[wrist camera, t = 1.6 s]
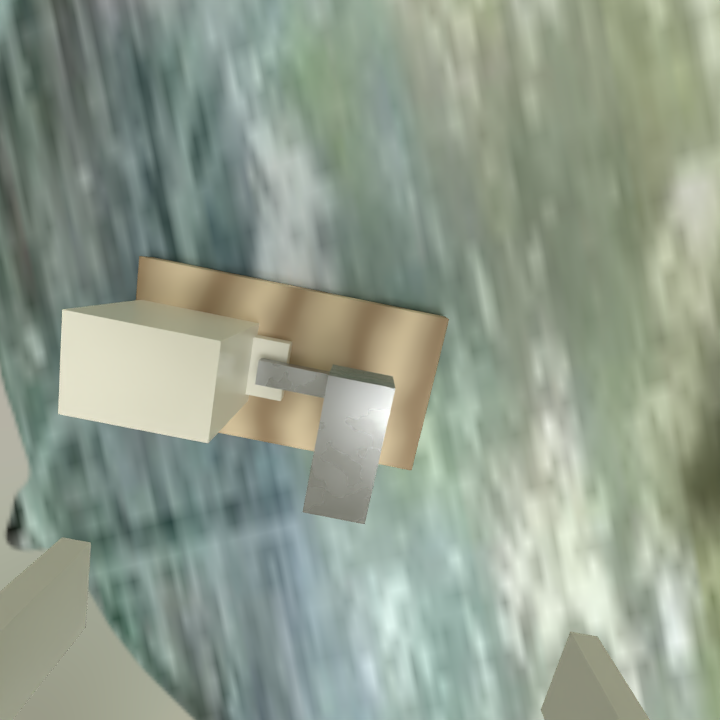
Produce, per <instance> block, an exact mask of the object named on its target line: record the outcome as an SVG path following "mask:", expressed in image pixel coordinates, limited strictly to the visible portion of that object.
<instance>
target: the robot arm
mask: <svg viewBox="0 0 720 720" xmlns="http://www.w3.org/2000/svg"><path fill="white" fill-rule="evenodd" d="M90 550H91V543H89V542H84V541H78V540H73V539H68V538H61V539H60V540H59V541H57V542H56V543H55V544H54V545H53V546H52V547H51V548H49V549H48V550H47V551H46V552H45V553H44V554H43V555H41V556H40V557H39V558H38V559H37V560H36V561H35V562H33V564H31V565H30V566H29V567H28V568H26V569H25V570H24V571H23V572H22V573H21V574H20V575H19V576H17V577H16V578H15V579H14V580H13V581H12V582H10V583H9V584H8V585H7V586H6V587H5V588H4V589H2V590H1V591H0V720H13V719H14V717H15V716H16V715H17V714H18V712H19V711H20V710H21V709H22V707H23V706H24V705H25V704H26V702H27V701H28V700H29V699H30V697H31V696H32V695H33V694H34V692H35V691H36V690H37V688H38V687H39V686H40V685H41V683H42V682H43V681H44V679H45V678H46V677H47V676H48V674H49V673H50V672H51V671H52V669H53V668H54V667H55V666H56V664H57V663H58V662H59V661H60V659H61V658H62V657H63V656H64V654H65V653H66V652H67V651H68V649H69V648H70V647H71V646H72V644H73V643H74V642H75V640H76V639H77V638H78V637H79V635H80V634H81V633H82V632H83V630H84V629H85V628H86V614H87V598H88V582H89V566H90ZM541 711H542V714H543V716H544V719H545V720H649V718H648V716H647V715H646V713H645V712H644V710H643V708H642V707H641V705H640V704H639V702H638V700H637V699H636V697H635V696H634V694H633V692H632V691H631V689H630V688H629V686H628V684H627V683H626V681H625V680H624V678H623V676H622V675H621V673H620V672H619V670H618V669H617V667H616V665H615V664H614V662H613V661H612V659H611V657H610V656H609V654H608V653H607V651H606V649H605V648H604V646H603V645H602V643H601V641H600V640H599V638H598V637H597V636H591V635H586V634H580V633H575V632H570V634H569V637H568V639H567V642H566V645H565V647H564V650H563V652H562V655H561V658H560V660H559V663H558V666H557V668H556V671H555V674H554V676H553V679H552V682H551V684H550V687H549V690H548V692H547V695H546V697H545V700H544V703H543V705H542V708H541Z"/></svg>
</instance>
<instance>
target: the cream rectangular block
mask: <svg viewBox="0 0 720 720" xmlns="http://www.w3.org/2000/svg"><path fill="white" fill-rule="evenodd" d="M258 330H259V323H256V322H251V321H246V320H241V319H236V318H231V317H226V316H221V315H216V314H211V313H206V312H201V311H196V310H191V309H186V308H181V307H176V306H171V305H166V304H161V303H156V302H151V301H146V300H135V301H127V302H119V303H111V304H103V305H94V306H86V307H78V308H70V309H62V332H61V357H60V383H59V408H58V414H61V415H66V416H71V417H76V418H81V419H86V420H92V421H97V422H102V423H107V424H112V425H117V426H122V427H127V428H133V429H138V430H143V431H148V432H153V433H158V434H163V435H168V436H174V437H179V438H184V439H189V440H194V441H199V442H204V443H209V442H210V441H211V440H212V439H213V438H214V437H215V435H216V434H217V433H218V432H219V431H220V430H221V429H222V428H223V427H224V426H225V425H226V424H227V423H228V422H229V421H230V420H231V419H232V417H233V416H234V415H235V414H236V413H237V412H238V411H239V410H240V409H241V408H242V407H243V406H244V405H245V404H246V403H247V402H248V398H249V395H252V396H257V397H262V398H267V399H272V400H277V401H281V400H282V398H283V396H284V390H281V389H276V388H271V387H266V386H261V385H256V384H255V382H256V375H257V368H258V361H259V360H260V359H261V358H265V359H270V360H275V361H280V362H285V363H289V360H290V354H291V348H292V342H291V341H286V340H281V339H276V338H271V337H266V336H261V335H258Z"/></svg>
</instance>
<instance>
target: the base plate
mask: <svg viewBox="0 0 720 720" xmlns="http://www.w3.org/2000/svg"><path fill="white" fill-rule="evenodd" d="M136 300H146V301H151V302H156V303H161V304H166V305H171V306H176V307H181V308H186V309H191V310H196V311H201V312H206V313H211V314H216V315H221V316H226V317H231V318H236V319H241V320H246V321H251V322H256V323H259V330H258V335H261V336H266V337H271V338H276V339H281V340H286V341H291V342H292V348H291V354H290V360H289V363H290V364H295V365H300V366H305V367H310V368H315V369H320V370H325V371H330V370H331V368H332V365H333V364H334V365H339V366H344V367H349V368H354V369H359V370H364V371H369V372H374V373H379V374H384V375H389V376H393V380H394V384H395V393H394V397H393V401H392V406H391V410H390V414H389V419H388V423H387V428H386V432H385V436H384V441H383V445H382V450H381V454H380V458H379V463H378V464H382V465H387V466H392V467H397V468H402V469H407V470H412V466H413V462H414V458H415V454H416V450H417V446H418V442H419V438H420V434H421V430H422V426H423V422H424V418H425V414H426V410H427V406H428V402H429V398H430V394H431V390H432V386H433V382H434V377H435V373H436V369H437V365H438V361H439V357H440V353H441V349H442V345H443V341H444V337H445V333H446V329H447V325H448V321H449V319H448V318H446V317H445V316H440V315H435V314H430V313H425V312H420V311H415V310H410V309H405V308H400V307H395V306H391V305H386V304H381V303H376V302H371V301H366V300H361V299H356V298H351V297H346V296H341V295H336V294H331V293H327V292H322V291H317V290H312V289H307V288H302V287H297V286H292V285H287V284H282V283H277V282H272V281H268V280H263V279H258V278H253V277H248V276H243V275H238V274H233V273H228V272H223V271H218V270H213V269H208V268H204V267H199V266H194V265H189V264H184V263H179V262H174V261H169V260H164V259H159V258H154V257H143V256H139V269H138V281H137V294H136ZM323 402H324V398H321V397H316V396H311V395H306V394H301V393H296V392H291V391H286V390H284V396H283V398H282V400H281V401H277V400H272V399H267V398H262V397H257V396H252V395H249V398H248V402H247V403H246V404H245V405H244V406H243V407H242V408H241V409H240V410H239V411H238V412H237V413H236V414H235V415H234V416H233V417H232V419H231V420H230V421H229V422H228V423H227V424H226V425H225V426H224V427H223V428H222V429H221V430H220V431H219V432H218V433H223V434H228V435H233V436H239V437H244V438H249V439H254V440H259V441H264V442H269V443H274V444H279V445H285V446H290V447H295V448H300V449H305V450H310V451H314V450H315V444H316V439H317V434H318V428H319V423H320V418H321V412H322V407H323Z"/></svg>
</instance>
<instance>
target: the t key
mask: <svg viewBox="0 0 720 720" xmlns="http://www.w3.org/2000/svg"><path fill="white" fill-rule="evenodd" d="M255 384H256V385H261V386H266V387H271V388H276V389H281V390H286V391H291V392H296V393H301V394H306V395H311V396H316V397H321V398H324V402H323V407H322V412H321V418H320V423H319V428H318V434H317V439H316V444H315V450H314V455H313V460H312V465H311V471H310V476H309V481H308V487H307V492H306V497H305V502H304V508H303V512H304V513H310V514H315V515H320V516H325V517H330V518H335V519H341V520H346V521H351V522H356V523H361V524H365V520H366V515H367V511H368V507H369V502H370V498H371V494H372V489H373V485H374V480H375V476H376V472H377V467H378V463H379V458H380V454H381V450H382V445H383V441H384V436H385V432H386V428H387V423H388V419H389V414H390V410H391V406H392V401H393V397H394V393H395V384H394V380H393V376H389V375H384V374H379V373H374V372H369V371H364V370H359V369H354V368H349V367H344V366H339V365H334V364H333V365H332V368H331V370H330V371H325V370H320V369H315V368H310V367H305V366H300V365H295V364H290V363H285V362H280V361H275V360H270V359H265V358H261V359H260V360H259V361H258V368H257V375H256V382H255Z"/></svg>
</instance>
